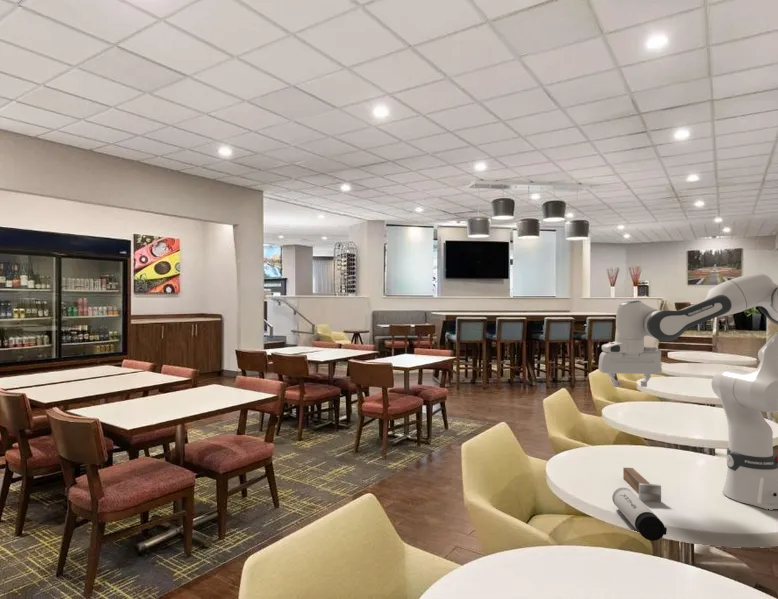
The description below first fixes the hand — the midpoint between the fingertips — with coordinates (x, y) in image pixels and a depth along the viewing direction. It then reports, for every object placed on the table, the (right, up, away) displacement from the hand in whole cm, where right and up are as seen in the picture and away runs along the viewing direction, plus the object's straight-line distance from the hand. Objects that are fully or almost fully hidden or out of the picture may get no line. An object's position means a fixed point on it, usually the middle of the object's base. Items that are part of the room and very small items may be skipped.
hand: (629, 386), depth 171 cm
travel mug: (-15, -28, -27) cm, 42 cm away
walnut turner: (-3, -31, -13) cm, 34 cm away
